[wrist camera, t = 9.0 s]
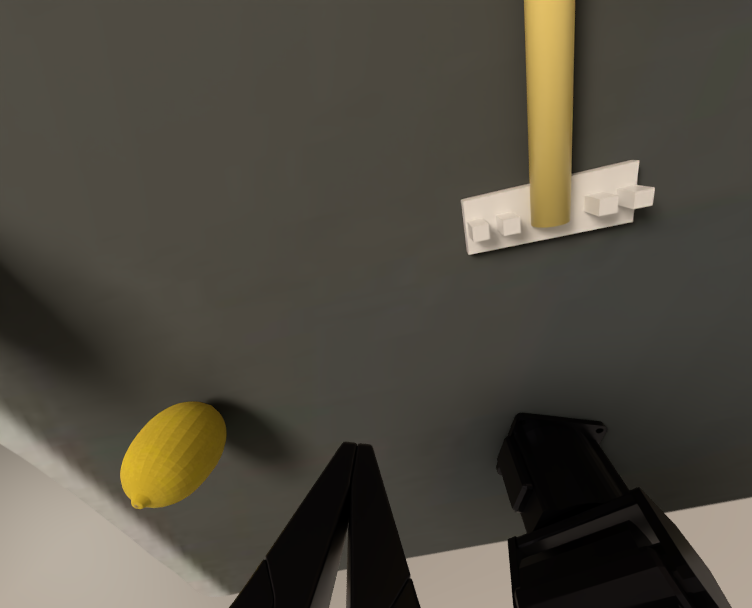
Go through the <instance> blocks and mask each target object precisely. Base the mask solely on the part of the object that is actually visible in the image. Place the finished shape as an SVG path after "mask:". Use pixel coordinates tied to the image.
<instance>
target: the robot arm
mask: <svg viewBox="0 0 752 608" xmlns="http://www.w3.org/2000/svg"><path fill="white" fill-rule="evenodd" d="M606 432H607V428H606V427H605V425H604V424H603V423H602V422H598V421H589V420H581V419H572V418H563V417H554V416H545V415H536V414H527V413H519V414H517V415H516V416H515V417H514V420H513V423H512V425H511V428H510V431H509V433H508V436H507V437H506V438H505V439H504V442H503V445H502V448H501V450H500V453H499V456H498V458H497V460H498V463H497V466H496V469H497V472H498V474H500V475H502V477H503V480H504V483H505V486H506V490H507V493H508V496H509V500H510V503H511V506H512V508H513V510H514V511H515V512H518V513H521V516H522V519H523V522H524V526H525V529H526V532H527V534H524V535H522V536H519V537H516V536H514V537H512V538H509V539H508V549H509V561H510V573H511V585H512V597H513V606H514V608H732V607H731V606H730V604H729V602H728V601H727V599H726V597H725V595H724V594H723V592H722V590H721V589H720V587H719V585H718V583H717V582H716V580H715V578H714V577H713V575H712V573H711V572H710V570H709V569H708V567H707V566H706V565H705V563H704V562H703V561H702V559H701V558H700V557H699V555H698V554H697V553H696V551H695V550H694V549H693V548H692V546H691V545H690V544H689V542H688V541H687V540H686V539H685V537H684V536H683V534H682V533H681V532H680V530H679V529H678V528H677V526H676V525H675V524H674V523H673V522H672V521H671V520H670V519H669V518H668V517H667V516H666V515H665V514H664V513H663V511H662V510H661V509H660V508H659V507H658V506H657V505H656V504H655V503H654V502H653V501H652V500H651V499H650V498H649V497H648V496H647V495H646V494H645V493H644V492H643V491H642V490H641V489H640V488H639V487H638V488H635V489H633V490H630V491H629V489H628V488H627V486H626V485H625V483H624V482H623V480H622V479H621V477H620V476H619V474H618V473H617V471H616V470H615V468H614V467H613V465H612V464H611V462H610V461H609V459H608V458H607V456H606V455H605V453H604V452H603V450H602V449H601V447H600V446H599V444H600V442H601V440H602V439H603V437H604V435H605V433H606ZM348 522H349V525H348ZM347 528H348V552H347V595H346V608H421V607H420V604H419V601H418V598H417V595H416V591H415V588H414V585H413V581H412V579H411V578H410V572H409V568H408V565H407V562H406V558H405V555H404V551H403V548H402V545H401V541H400V538H399V534H398V531H397V528H396V524H395V521H394V518H393V514H392V511H391V507H390V504H389V501H388V497H387V494H386V491H385V487H384V484H383V480H382V477H381V474H380V470H379V467H378V464H377V460H376V457H375V453H374V450H373V447H372V445H370V444H361V443H360V444H358V446H357V444H356V443H353V442H343V443H342V444H341V446H340V447H339V449H338V450H337V452H336V453H335V455H334V456H333V458H332V459H331V460H330V462H329V463H328V465H327V466H326V468H325V469H324V471H323V472H322V474H321V475H320V477H319V478H318V480H317V481H316V483H315V484H314V486H313V487H312V488H311V490H310V491H309V493H308V494H307V496H306V497H305V499H304V500H303V502H302V503H301V505H300V506H299V508H298V509H297V511H296V512H295V514H294V515H293V516H292V518H291V519H290V521H289V522H288V524H287V525H286V527H285V528H284V530H283V531H282V533H281V534H280V536H279V537H278V539H277V540H276V542H275V543H274V545H273V546H272V547H271V549H270V550H269V552H268V553H267V555H266V557H265V559H266V560H263V561H262V562H261V563H260V565H259V566H258V568H257V569H256V571H255V572H254V574H253V575H252V577H251V578H250V579H249V581H248V582H247V584H246V585H245V586H244V588H243V589H242V591H241V592H240V593H239V595H238V596H237V598H236V599H235V600H234V602H233V603H232V605H231V606H230V607H229V608H329V605H330V600H331V596H332V592H333V588H334V584H335V580H336V576H337V572H338V567H339V563H340V559H341V555H342V551H343V546H344V542H345V538H346V533H347Z"/></svg>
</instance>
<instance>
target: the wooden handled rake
mask: <svg viewBox="0 0 752 608" xmlns="http://www.w3.org/2000/svg"><path fill="white" fill-rule="evenodd" d="M524 16H525V49H526V81H527V114H528V146H529V178H530V184H526V185H521V186H517V187H513V188H508V189H504V190H500V191H496V192H491V193H487V194H483V195H478V196H474V197H470V198H465V199H461V206H462V214H463V223H464V231H465V239H466V248H467V253H468V254H469V255H471V254H476V253H481V252H485V251H490V250H495V249H500V248H505V247H510V246H515V245H520V244H525V243H530V242H535V241H540V240H545V239H550V238H555V237H560V236H565V235H570V234H575V233H580V232H585V231H590V230H595V229H600V228H605V227H610V226H615V225H620V224H624V223H629V222H633V215H634V209H637V208H642V207H647V206H652V205H653V198H654V190H655V188H654V187H647V186H641V185H637V177H638V168H639V160H629V161H625V162H621V163H616V164H612V165H608V166H603V167H599V168H595V169H590V170H586V171H582V172H578V173H573V174H571V168H572V122H573V77H574V31H575V0H524Z"/></svg>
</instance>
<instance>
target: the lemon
mask: <svg viewBox="0 0 752 608" xmlns="http://www.w3.org/2000/svg"><path fill="white" fill-rule="evenodd" d="M226 436H227V434H226V425H225V422H224V420H223V418H222V416H221V414H220V413H219V412H218V411H217V410H216V409H215V408H214V407H213V406H212V405H208V404H205V403H202V402H183V403H179V404H176V405H173V406H171V407H169V408H167V409H165V410H163V411H162V412H160V413H159V414H157V415H156V416H155V417H153V418H152V419H151V420H150V421H149V422H148V423H147V424H146V425H145V426H144V427H143V429H142V430H141V431H140V432H139V433H138V435H137V436H136V437H135V439H134V440H133V442H132V443H131V445H130V447H129V448H128V450H127V452H126V454H125V457H124V459H123V462H122V466H121V472H120V477H121V483H122V487H123V489H124V492H125V493H126V495H127V496H128V497H129V498H130V499H131V504H132V506H133V507H135V508H137V509H142V508H145V507H152V508H157V507H164V506H168V505H171V504H174V503H177V502H179V501H181V500H182V499H184V498H186V497H187V496H189V495H190V494H191V493H193V492H194V491H195V490H196V489H197V488H198V487H199V486H200V485H201V484H202V483H203V482H204V481H205V479H206V478H207V477H208V476H209V474H210V473H211V472H212V470H213V469H214V468H215V466H216V465H217V463H218V461H219V459H220V457H221V455H222V452H223V450H224V446H225V442H226Z"/></svg>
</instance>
